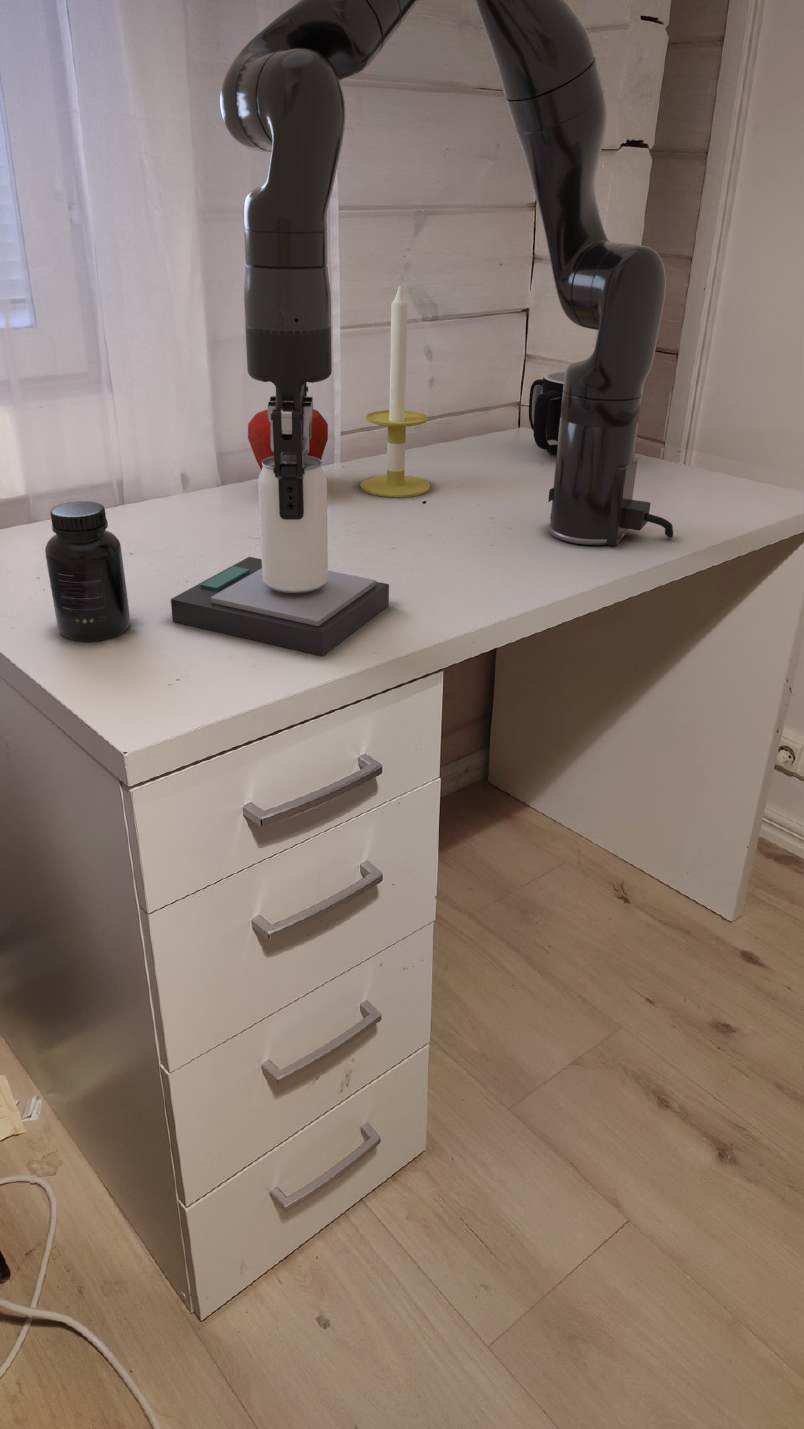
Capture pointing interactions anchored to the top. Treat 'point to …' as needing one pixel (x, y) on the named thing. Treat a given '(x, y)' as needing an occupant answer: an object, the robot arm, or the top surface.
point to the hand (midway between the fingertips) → (293, 506)
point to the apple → (262, 436)
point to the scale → (281, 608)
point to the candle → (396, 416)
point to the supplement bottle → (86, 573)
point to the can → (294, 531)
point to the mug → (546, 410)
